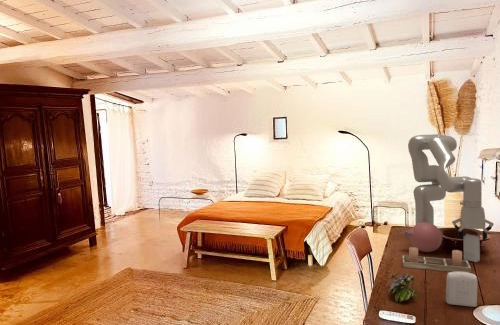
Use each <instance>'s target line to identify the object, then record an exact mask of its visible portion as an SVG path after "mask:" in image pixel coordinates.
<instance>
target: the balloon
mask: <svg viewBox="0 0 500 325" xmlns="http://www.w3.org/2000/svg"><path fill="white" fill-rule="evenodd" d="M400 234H401V235H403V236H404V238H408V239H409V240H410V243H411V244H412V247H416V248H418V251H419V252H420V251H421V252H423V253H432V252H434V251H436V250H438V249H439V248H440V246H441V245H442V243H443V242H442V241H443V236H442V235H443V234H442V232H441V230H440V228H439V227H438V226H436V225H435V224H434V225H433V224H431V223H428V222H422V223H418V224H416V223H415V225H413V227H411V228H410V229H407V230H405V231H400Z"/></svg>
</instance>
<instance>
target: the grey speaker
mask: <svg viewBox="0 0 500 325" xmlns="http://www.w3.org/2000/svg"><path fill="white" fill-rule="evenodd" d="M445 283H446V284H445V286H446V287H445V302H446V303H447V305H453V306H454V305H455V306H464V307H474V308H475V307H477V305H478V304H477V303H478V277H477V276H476V274H474V273H468V272H459V271H458V272H451V271H449V272H447V275H446V282H445Z"/></svg>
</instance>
